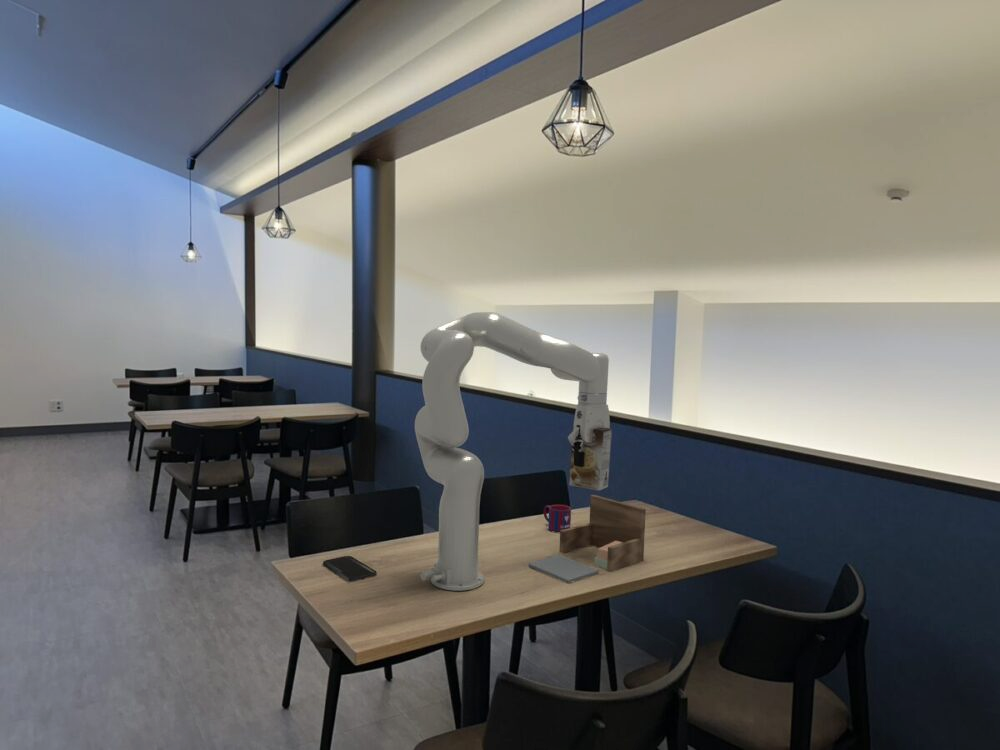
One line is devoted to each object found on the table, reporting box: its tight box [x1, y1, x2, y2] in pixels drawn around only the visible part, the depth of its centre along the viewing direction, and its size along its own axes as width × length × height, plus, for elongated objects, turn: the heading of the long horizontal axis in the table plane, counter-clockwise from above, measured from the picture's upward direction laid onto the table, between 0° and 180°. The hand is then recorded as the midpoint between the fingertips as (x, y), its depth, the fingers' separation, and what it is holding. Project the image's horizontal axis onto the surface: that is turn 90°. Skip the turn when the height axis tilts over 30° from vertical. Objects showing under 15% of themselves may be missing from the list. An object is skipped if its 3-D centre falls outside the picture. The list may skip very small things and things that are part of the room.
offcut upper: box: [597, 541, 623, 561], centre depth 173 cm, size 9×4×2 cm, turn 139°
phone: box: [322, 555, 377, 583], centre depth 163 cm, size 8×1×15 cm
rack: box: [559, 494, 647, 572], centre depth 178 cm, size 14×18×14 cm
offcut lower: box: [594, 556, 607, 570], centre depth 173 cm, size 10×4×2 cm, turn 136°
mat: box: [528, 554, 600, 584], centre depth 167 cm, size 11×14×1 cm
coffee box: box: [568, 425, 613, 491], centre depth 176 cm, size 9×6×16 cm
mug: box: [543, 504, 572, 533], centre depth 202 cm, size 7×10×7 cm
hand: (589, 464), depth 177 cm, fingers closed on coffee box, 7 cm apart
